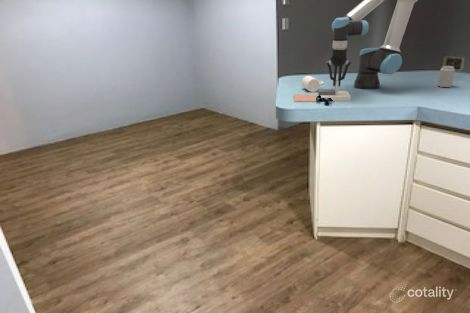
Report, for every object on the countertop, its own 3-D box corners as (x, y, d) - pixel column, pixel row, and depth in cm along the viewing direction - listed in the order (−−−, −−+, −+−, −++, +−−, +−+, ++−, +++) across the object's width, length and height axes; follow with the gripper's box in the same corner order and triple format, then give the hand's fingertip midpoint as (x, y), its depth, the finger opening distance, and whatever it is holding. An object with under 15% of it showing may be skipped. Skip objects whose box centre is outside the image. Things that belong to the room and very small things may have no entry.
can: (445, 88, 217) (449, 68, 212) (434, 86, 224) (438, 66, 219) (454, 87, 220) (458, 66, 215) (443, 84, 226) (447, 64, 221)
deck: (347, 95, 212) (347, 91, 211) (350, 101, 201) (350, 96, 200) (318, 95, 214) (318, 91, 213) (320, 101, 203) (320, 96, 202)
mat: (318, 95, 215) (318, 94, 215) (320, 101, 203) (320, 101, 202) (293, 95, 217) (293, 94, 217) (294, 101, 204) (294, 101, 204)
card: (333, 92, 210) (334, 89, 209) (335, 95, 204) (335, 91, 203) (317, 92, 211) (317, 89, 210) (318, 95, 205) (318, 91, 204)
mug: (307, 92, 222) (307, 79, 218) (301, 88, 231) (301, 76, 227) (325, 90, 224) (326, 77, 220) (319, 87, 233) (319, 74, 229)
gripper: (327, 49, 194) (324, 93, 204) (353, 49, 192) (349, 93, 202) (326, 47, 201) (323, 90, 210) (350, 47, 199) (346, 90, 209)
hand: (336, 92), depth 206 cm, fingers closed
